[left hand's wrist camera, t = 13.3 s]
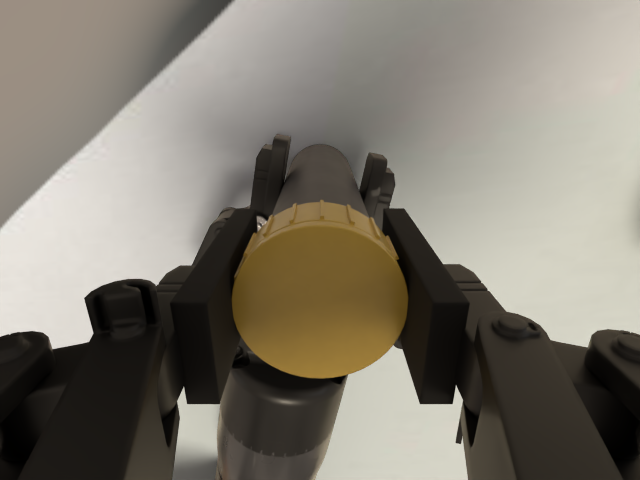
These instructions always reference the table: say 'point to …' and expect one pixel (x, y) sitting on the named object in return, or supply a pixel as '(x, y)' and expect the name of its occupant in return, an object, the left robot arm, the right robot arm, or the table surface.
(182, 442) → the table surface
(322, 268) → the lid
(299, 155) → the grey cylindrical bottle
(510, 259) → the table surface
